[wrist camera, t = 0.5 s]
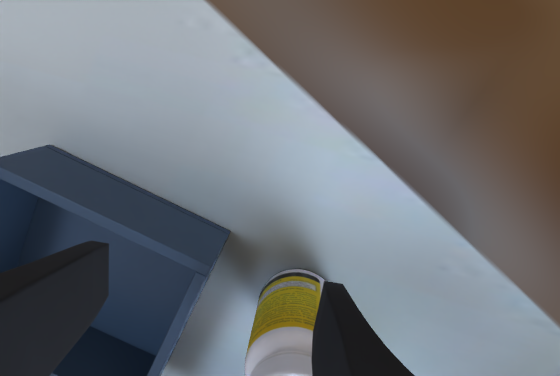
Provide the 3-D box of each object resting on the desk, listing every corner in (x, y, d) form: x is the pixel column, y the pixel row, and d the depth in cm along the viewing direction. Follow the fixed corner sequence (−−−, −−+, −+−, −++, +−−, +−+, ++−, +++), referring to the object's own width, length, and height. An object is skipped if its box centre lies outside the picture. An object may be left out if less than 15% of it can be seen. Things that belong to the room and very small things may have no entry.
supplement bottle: (244, 300, 25) (211, 408, 17) (296, 252, 24) (288, 342, 16) (299, 348, 25) (293, 474, 17) (352, 302, 24) (373, 415, 16)
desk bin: (167, 362, 27) (137, 420, 22) (5, 288, 26) (-60, 332, 21) (230, 230, 24) (211, 267, 19) (49, 143, 23) (-15, 160, 18)
